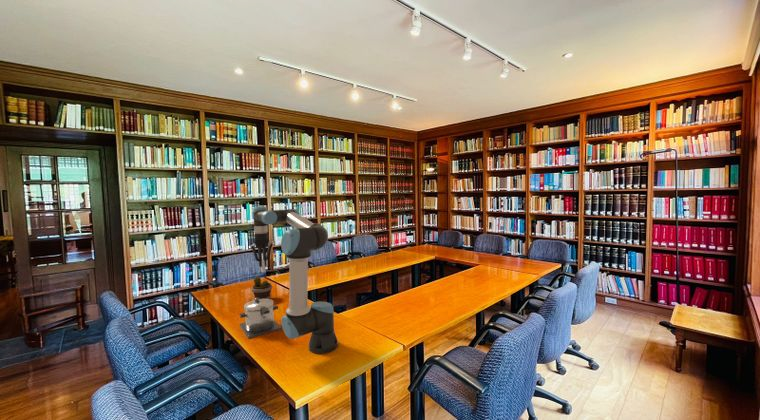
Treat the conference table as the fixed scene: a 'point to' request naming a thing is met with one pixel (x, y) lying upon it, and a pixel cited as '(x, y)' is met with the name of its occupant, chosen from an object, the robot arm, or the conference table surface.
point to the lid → (259, 305)
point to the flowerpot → (261, 288)
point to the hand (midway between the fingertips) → (263, 271)
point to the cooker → (259, 322)
